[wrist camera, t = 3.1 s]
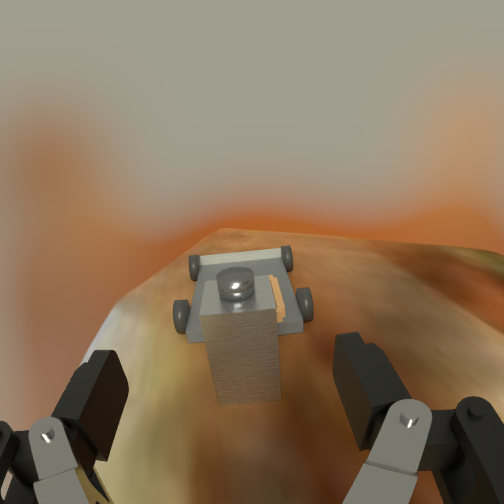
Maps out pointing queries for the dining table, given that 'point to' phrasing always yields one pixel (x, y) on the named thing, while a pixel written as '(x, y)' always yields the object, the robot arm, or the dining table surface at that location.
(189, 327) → the chassis
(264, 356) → the block
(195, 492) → the dining table surface
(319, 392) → the dining table surface
